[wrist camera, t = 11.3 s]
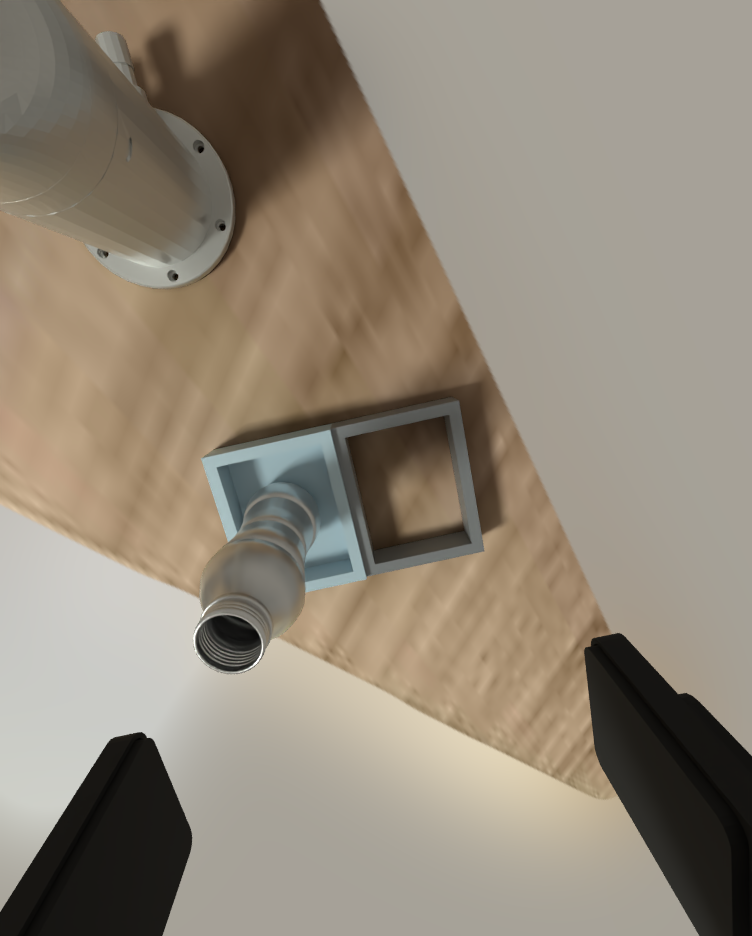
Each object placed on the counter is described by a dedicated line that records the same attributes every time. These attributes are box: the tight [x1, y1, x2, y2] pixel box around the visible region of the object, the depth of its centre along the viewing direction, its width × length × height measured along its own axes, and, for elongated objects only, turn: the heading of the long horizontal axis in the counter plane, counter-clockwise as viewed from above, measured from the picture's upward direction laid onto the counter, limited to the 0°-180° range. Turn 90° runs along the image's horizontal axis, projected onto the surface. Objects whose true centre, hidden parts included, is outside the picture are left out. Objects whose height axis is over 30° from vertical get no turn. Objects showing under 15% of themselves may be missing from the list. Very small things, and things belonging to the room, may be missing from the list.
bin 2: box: [330, 397, 484, 576], centre depth 42 cm, size 14×11×3 cm
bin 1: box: [201, 423, 367, 592], centre depth 42 cm, size 14×11×4 cm
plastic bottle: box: [193, 482, 321, 674], centre depth 33 cm, size 6×7×20 cm
